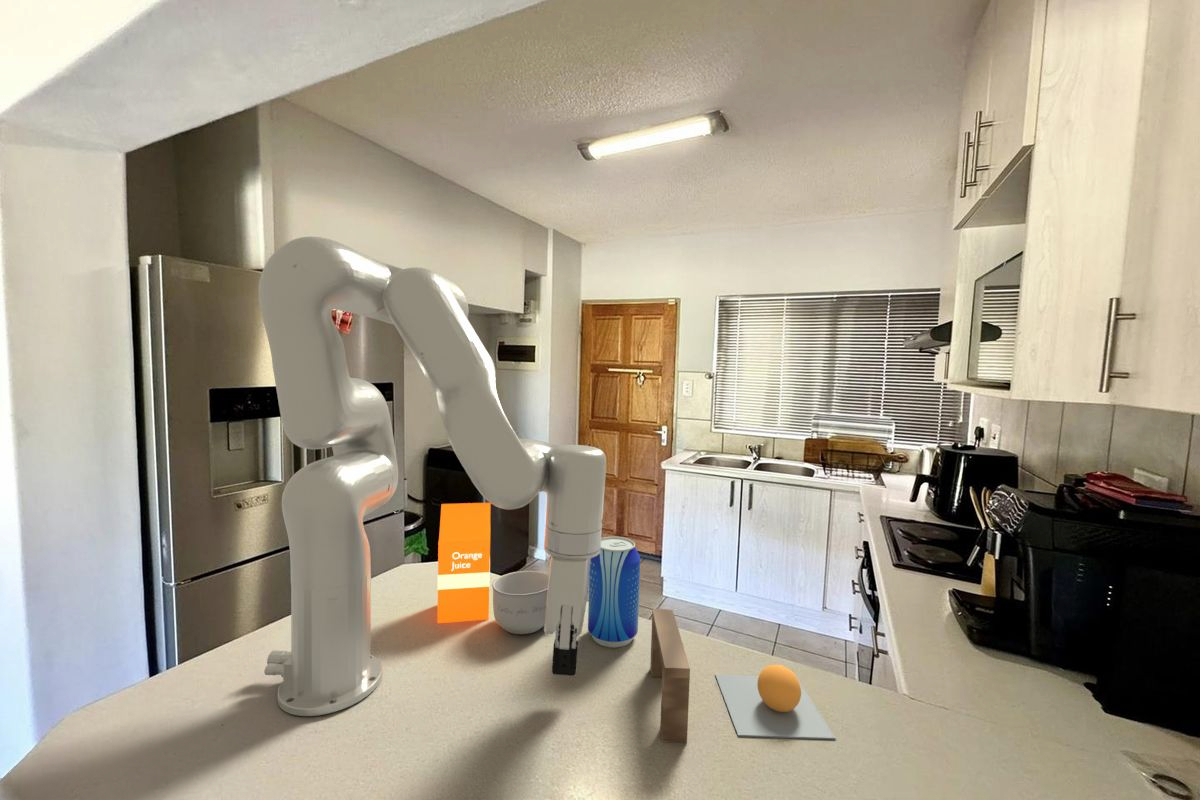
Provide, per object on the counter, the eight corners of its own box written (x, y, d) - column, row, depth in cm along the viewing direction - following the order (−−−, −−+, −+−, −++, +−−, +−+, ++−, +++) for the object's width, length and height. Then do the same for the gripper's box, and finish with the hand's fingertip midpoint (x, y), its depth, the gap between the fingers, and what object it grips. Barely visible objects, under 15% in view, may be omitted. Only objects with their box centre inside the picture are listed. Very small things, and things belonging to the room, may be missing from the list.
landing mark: (737, 736, 60) (738, 734, 60) (715, 675, 72) (715, 674, 72) (835, 739, 60) (835, 737, 60) (796, 678, 72) (796, 676, 72)
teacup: (489, 644, 78) (490, 595, 78) (493, 611, 89) (494, 568, 89) (575, 639, 80) (576, 592, 80) (569, 607, 91) (570, 566, 91)
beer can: (634, 653, 77) (637, 554, 76) (582, 646, 78) (585, 549, 78) (640, 626, 85) (643, 537, 84) (593, 620, 87) (596, 532, 86)
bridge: (662, 741, 58) (664, 667, 58) (650, 668, 73) (652, 608, 72) (687, 742, 58) (690, 668, 58) (670, 669, 73) (672, 609, 72)
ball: (806, 723, 62) (764, 721, 62) (790, 695, 68) (751, 693, 68) (809, 681, 62) (765, 679, 62) (792, 657, 68) (753, 655, 68)
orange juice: (489, 619, 86) (490, 508, 85) (436, 623, 84) (438, 510, 83) (489, 599, 94) (491, 497, 92) (441, 602, 92) (442, 498, 91)
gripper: (550, 519, 72) (543, 639, 73) (537, 558, 57) (527, 707, 58) (601, 523, 72) (592, 642, 73) (600, 562, 57) (590, 712, 58)
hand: (564, 671), depth 66 cm, fingers closed
